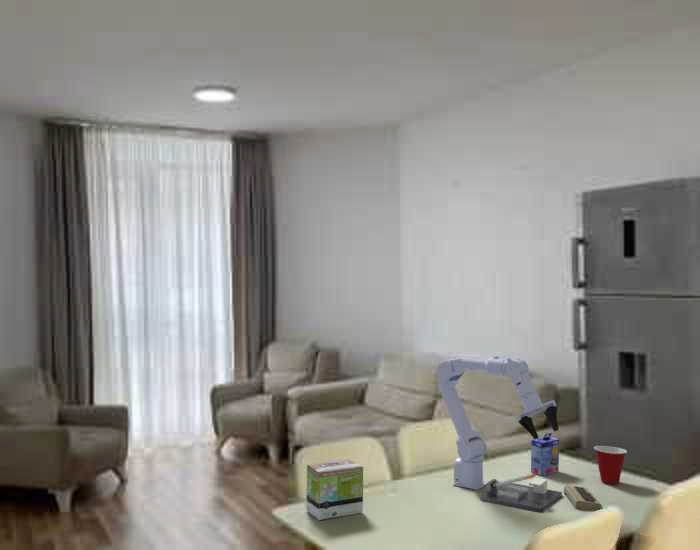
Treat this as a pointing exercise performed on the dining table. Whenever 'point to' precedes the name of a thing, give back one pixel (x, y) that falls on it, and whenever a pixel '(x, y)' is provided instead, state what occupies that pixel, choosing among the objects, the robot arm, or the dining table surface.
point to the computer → (581, 497)
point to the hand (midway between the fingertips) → (546, 434)
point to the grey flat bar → (513, 480)
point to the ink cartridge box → (545, 455)
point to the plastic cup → (610, 463)
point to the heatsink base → (519, 496)
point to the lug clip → (539, 485)
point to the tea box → (334, 489)
